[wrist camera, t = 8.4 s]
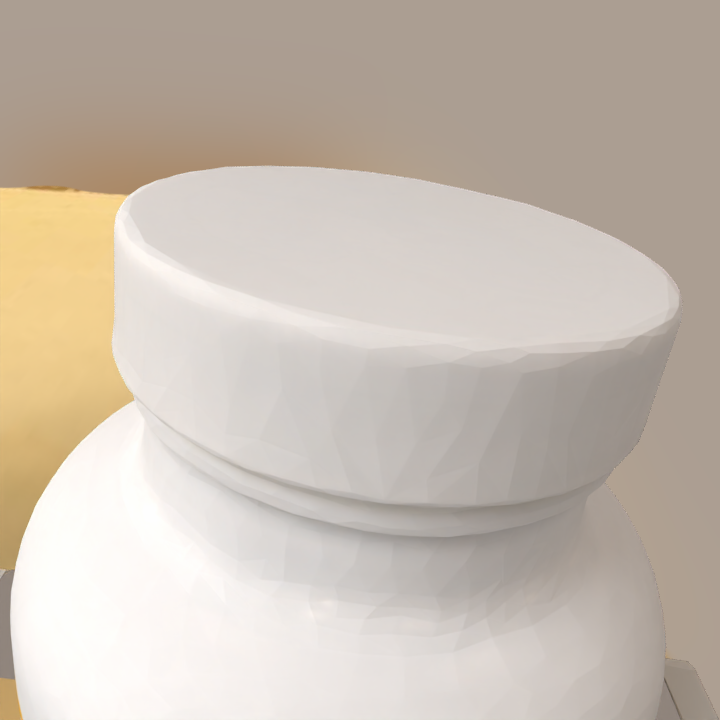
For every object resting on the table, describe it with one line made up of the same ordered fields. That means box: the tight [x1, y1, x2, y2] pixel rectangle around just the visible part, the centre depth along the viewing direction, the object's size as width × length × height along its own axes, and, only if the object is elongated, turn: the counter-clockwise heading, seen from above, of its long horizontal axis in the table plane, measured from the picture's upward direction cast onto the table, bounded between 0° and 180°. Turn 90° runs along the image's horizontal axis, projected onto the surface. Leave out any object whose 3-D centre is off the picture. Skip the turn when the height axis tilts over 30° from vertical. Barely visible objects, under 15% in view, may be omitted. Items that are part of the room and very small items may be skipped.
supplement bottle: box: [10, 166, 682, 720], centre depth 9 cm, size 7×7×13 cm
